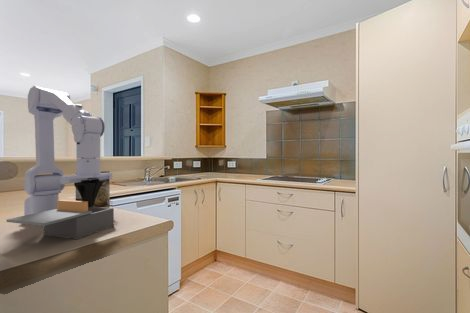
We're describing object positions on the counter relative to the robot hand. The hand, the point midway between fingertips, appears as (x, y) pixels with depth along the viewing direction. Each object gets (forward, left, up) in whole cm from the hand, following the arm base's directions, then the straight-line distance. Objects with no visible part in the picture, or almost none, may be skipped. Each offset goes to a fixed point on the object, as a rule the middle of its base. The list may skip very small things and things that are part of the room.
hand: (89, 206), depth 65 cm
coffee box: (-14, +14, -7) cm, 21 cm away
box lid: (-4, -7, -1) cm, 8 cm away
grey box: (-4, +1, -7) cm, 8 cm away
